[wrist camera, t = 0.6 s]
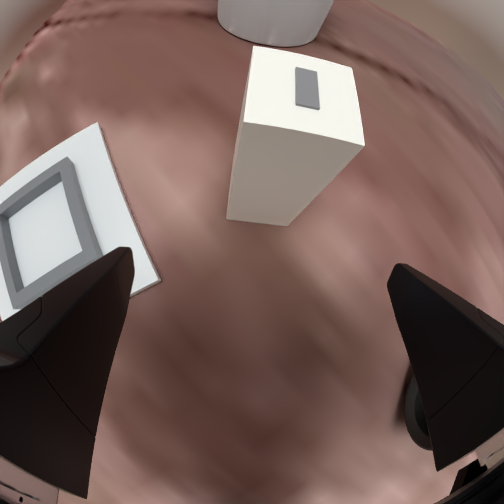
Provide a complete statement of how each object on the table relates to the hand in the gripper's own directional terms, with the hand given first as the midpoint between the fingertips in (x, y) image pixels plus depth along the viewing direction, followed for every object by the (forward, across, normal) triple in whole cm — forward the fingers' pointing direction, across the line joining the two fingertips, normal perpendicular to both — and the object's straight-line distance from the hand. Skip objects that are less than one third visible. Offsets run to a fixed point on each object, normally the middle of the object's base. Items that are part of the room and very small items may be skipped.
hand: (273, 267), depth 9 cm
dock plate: (+12, +17, +7) cm, 22 cm away
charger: (+15, -1, +3) cm, 15 cm away
